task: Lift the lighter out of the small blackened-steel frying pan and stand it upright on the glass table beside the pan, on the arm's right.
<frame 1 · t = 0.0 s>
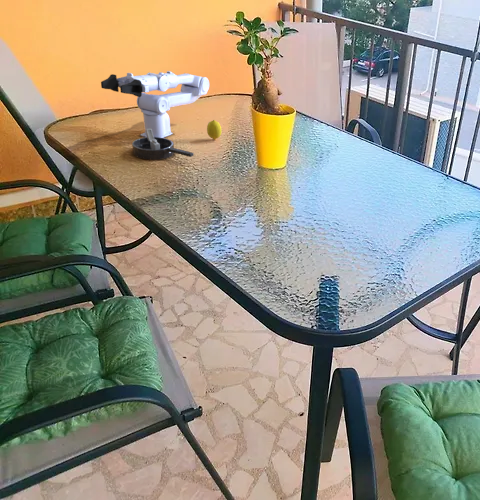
hand: (111, 87, 155), 22 cm above the table, tool horizontal, fingers open, 7 cm apart
pan handle: (181, 152, 163), point 2 cm above the table
lighter: (154, 153, 167), resting on pan
pan: (154, 153, 167), on the table
lemon: (214, 140, 186), on the table
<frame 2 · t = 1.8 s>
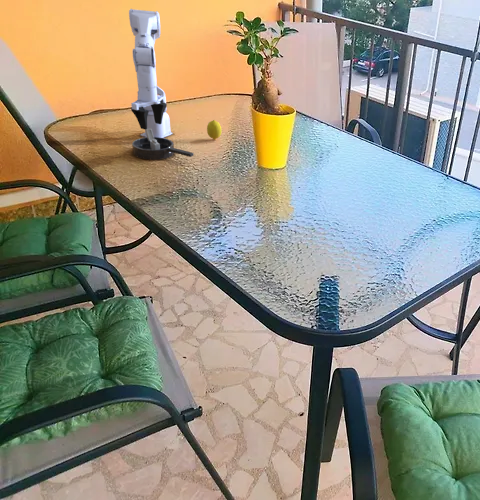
hand: (151, 126, 162), 10 cm above the table, tool pointing down, fingers open, 7 cm apart
nothing on the table moved.
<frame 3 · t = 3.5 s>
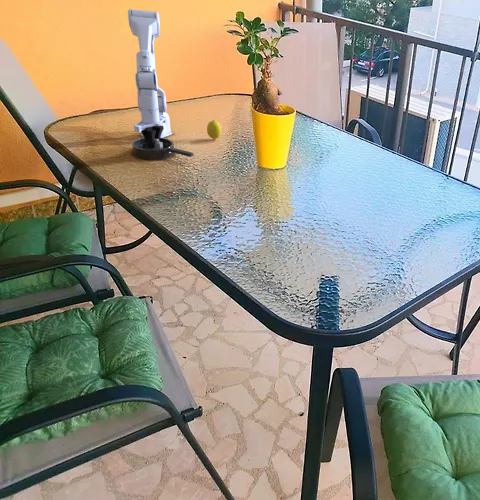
hand: (153, 146, 166), 2 cm above the table, tool pointing down, fingers closed on lighter, 2 cm apart
lighter: (153, 153, 167), resting on pan, touching gripper
everything else where it was.
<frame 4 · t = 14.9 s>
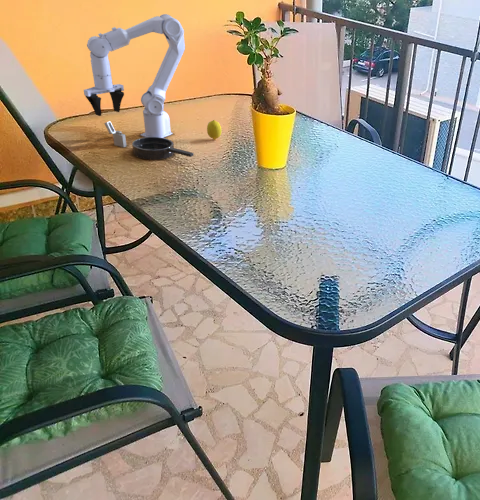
hand: (107, 113, 169), 9 cm above the table, tool pointing down, fingers open, 7 cm apart
lighter: (117, 145, 169), on the table
everything else where it was.
at the end: lighter inside the target area (0.1 cm from its centre), on the table; lighter tilted 0°; lighter touching table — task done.
